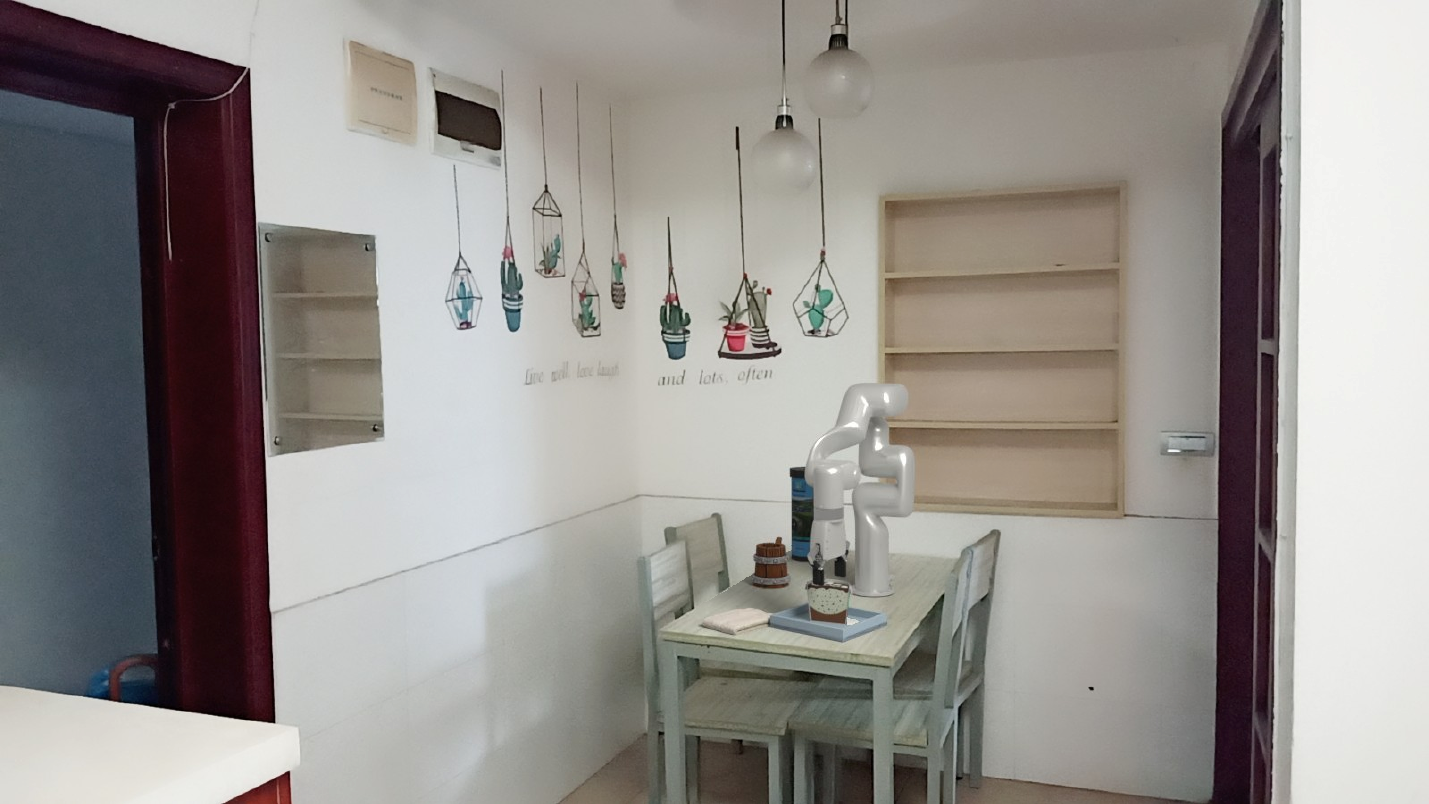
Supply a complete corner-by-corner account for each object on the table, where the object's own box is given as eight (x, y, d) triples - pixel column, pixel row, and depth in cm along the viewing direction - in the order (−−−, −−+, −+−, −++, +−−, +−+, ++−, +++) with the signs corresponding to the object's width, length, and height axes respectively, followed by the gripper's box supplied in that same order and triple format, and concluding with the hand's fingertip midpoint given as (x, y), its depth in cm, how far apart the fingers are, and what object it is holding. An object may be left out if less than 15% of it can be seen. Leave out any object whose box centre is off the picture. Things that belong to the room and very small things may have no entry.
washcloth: (783, 624, 272) (783, 612, 271) (734, 638, 259) (734, 625, 259) (749, 615, 280) (749, 604, 280) (701, 629, 267) (701, 617, 267)
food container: (858, 619, 270) (858, 581, 269) (851, 625, 264) (851, 586, 263) (812, 615, 275) (812, 576, 274) (804, 620, 269) (804, 581, 268)
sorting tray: (815, 611, 282) (815, 600, 282) (886, 625, 268) (887, 613, 268) (769, 626, 267) (769, 615, 267) (843, 642, 253) (843, 630, 253)
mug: (744, 587, 310) (746, 535, 311) (759, 585, 323) (762, 535, 325) (782, 590, 306) (785, 537, 307) (796, 588, 319) (798, 537, 320)
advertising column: (825, 555, 356) (825, 466, 354) (822, 562, 345) (822, 470, 343) (791, 554, 358) (791, 466, 356) (787, 561, 347) (787, 470, 345)
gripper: (835, 506, 275) (836, 571, 277) (796, 517, 262) (797, 585, 264) (860, 510, 270) (860, 575, 272) (821, 521, 257) (822, 590, 259)
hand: (829, 580), depth 268 cm, fingers open, 9 cm apart
